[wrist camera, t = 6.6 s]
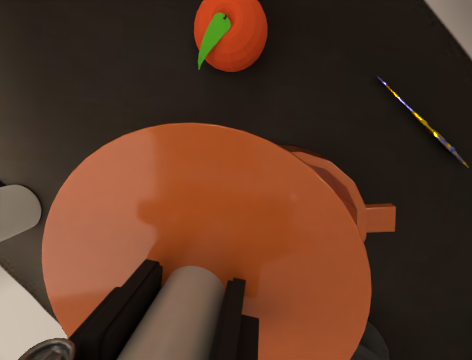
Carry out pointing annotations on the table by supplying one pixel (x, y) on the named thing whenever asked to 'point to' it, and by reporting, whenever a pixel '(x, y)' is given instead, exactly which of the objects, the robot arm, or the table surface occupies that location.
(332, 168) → the pot
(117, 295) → the robot arm
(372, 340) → the casserole
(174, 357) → the pot lid
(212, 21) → the clementine
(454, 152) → the pen
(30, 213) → the can
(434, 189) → the table surface
